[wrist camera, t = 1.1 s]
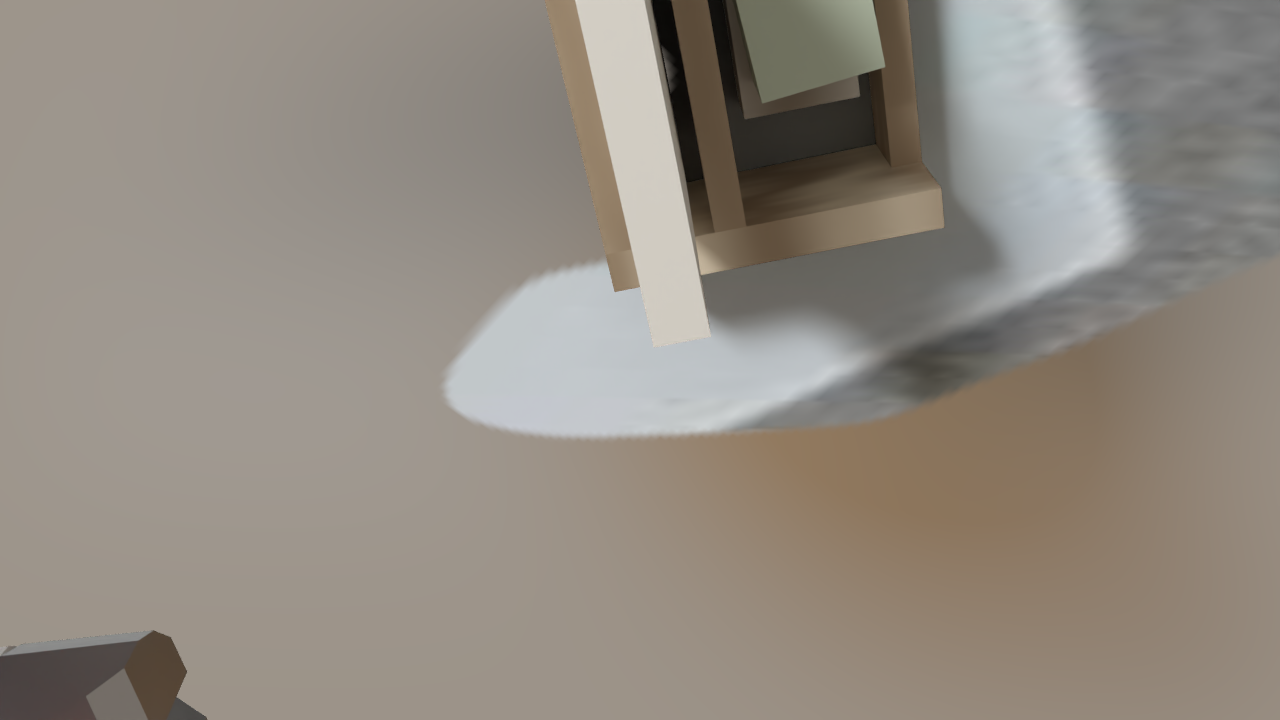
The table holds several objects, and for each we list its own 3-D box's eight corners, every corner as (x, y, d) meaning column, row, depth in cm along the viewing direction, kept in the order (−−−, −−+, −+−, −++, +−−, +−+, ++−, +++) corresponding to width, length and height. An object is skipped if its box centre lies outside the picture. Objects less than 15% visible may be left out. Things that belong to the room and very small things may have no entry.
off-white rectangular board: (606, -238, 40) (599, -227, 24) (678, 137, 47) (711, 336, 31) (562, -227, 40) (527, -211, 24) (640, 144, 47) (653, 347, 31)
